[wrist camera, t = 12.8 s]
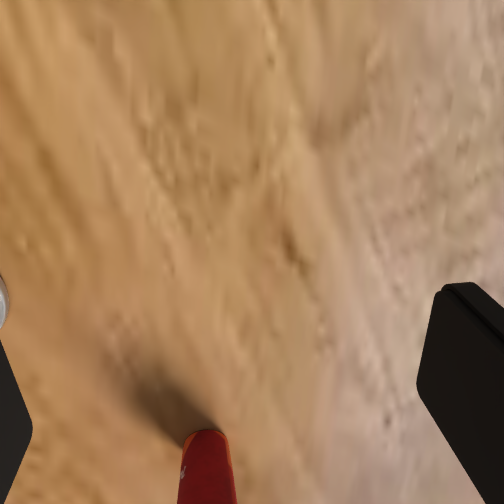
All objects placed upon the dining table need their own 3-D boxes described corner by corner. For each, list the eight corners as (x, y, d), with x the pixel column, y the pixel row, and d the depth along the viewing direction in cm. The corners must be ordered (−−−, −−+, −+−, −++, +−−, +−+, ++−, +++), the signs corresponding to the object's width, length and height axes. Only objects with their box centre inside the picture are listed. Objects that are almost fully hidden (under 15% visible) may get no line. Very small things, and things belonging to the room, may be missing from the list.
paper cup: (162, 443, 51) (150, 573, 38) (212, 414, 49) (217, 539, 37) (200, 473, 54) (200, 602, 42) (248, 447, 53) (264, 571, 40)
